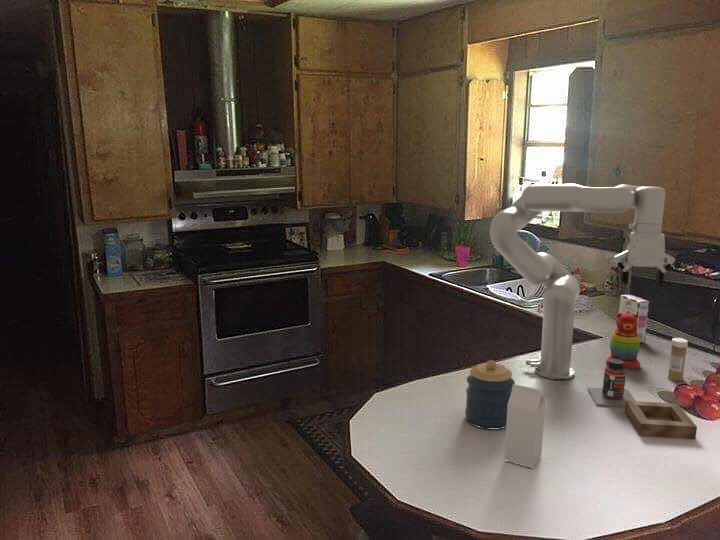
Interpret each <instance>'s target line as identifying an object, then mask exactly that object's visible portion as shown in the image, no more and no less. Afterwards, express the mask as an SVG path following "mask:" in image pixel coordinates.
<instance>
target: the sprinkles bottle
mask: <svg viewBox="0 0 720 540" xmlns="http://www.w3.org/2000/svg"><path fill="white" fill-rule="evenodd" d="M688 343H689V341H688V340H687V339H686V338H682V337H673V338H672V339H671V349H670V357H669V365H668V375H667V379H669V380H671V381H674V382H682V381H683V380H684V372H685V367H686V366H685V365H686V355H687V347H688V345H689V344H688Z"/></svg>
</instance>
